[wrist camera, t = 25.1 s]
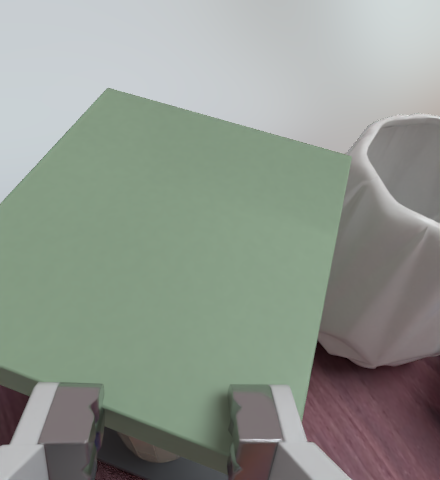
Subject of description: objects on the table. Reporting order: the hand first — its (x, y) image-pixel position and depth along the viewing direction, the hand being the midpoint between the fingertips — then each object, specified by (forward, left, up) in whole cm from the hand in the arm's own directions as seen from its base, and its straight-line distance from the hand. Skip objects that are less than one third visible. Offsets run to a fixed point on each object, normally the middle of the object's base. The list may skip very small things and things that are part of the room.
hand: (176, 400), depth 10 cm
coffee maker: (-2, +6, -18) cm, 19 cm away
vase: (+11, +16, -19) cm, 27 cm away
